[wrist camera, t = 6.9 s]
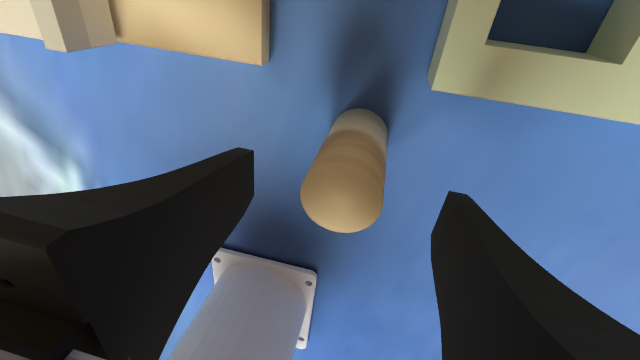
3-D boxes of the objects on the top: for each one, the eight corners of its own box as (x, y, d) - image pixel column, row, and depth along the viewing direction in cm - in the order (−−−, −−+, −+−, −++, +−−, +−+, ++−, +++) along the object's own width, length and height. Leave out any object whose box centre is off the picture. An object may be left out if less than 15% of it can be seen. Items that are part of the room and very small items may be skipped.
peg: (381, 166, 17) (373, 240, 12) (327, 156, 17) (297, 223, 12) (394, 114, 15) (391, 173, 10) (334, 103, 16) (303, 155, 11)
